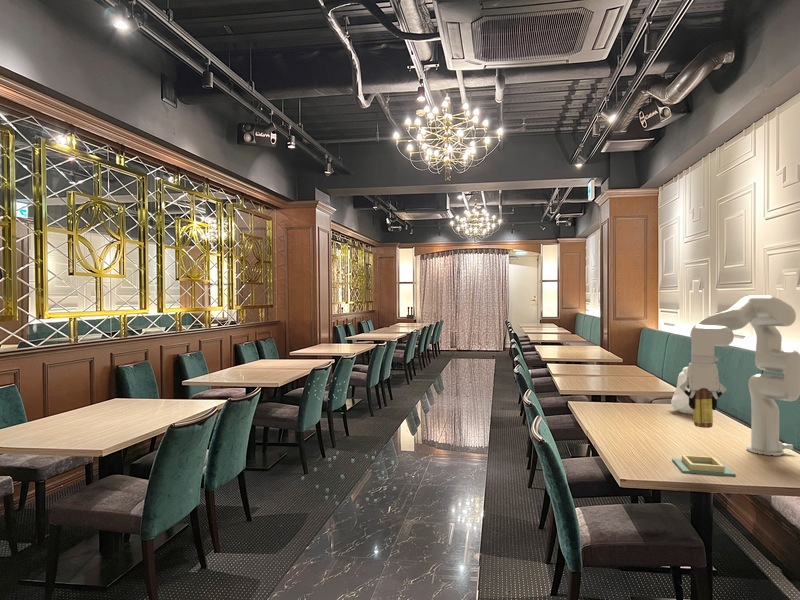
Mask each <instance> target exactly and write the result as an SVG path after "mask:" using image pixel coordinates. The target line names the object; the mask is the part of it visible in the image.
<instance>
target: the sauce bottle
mask: <svg viewBox="0 0 800 600" xmlns="http://www.w3.org/2000/svg"><path fill="white" fill-rule="evenodd" d="M694 399H695V409H693V414H692V415H693V425H694V426H695V427H697V428H698V427H699V428H704V429H705V428H706V429H708V428H712V427H713V425H714V424H713V422H714V419H713V418H714V417H713V416H714V415H713V409H712V395H711V391H709V390H708V389H707V388H701V389H699V390H698V391H696V392H695V394H694Z"/></svg>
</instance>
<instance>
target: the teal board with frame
mask: <svg viewBox="0 0 800 600" xmlns="http://www.w3.org/2000/svg"><path fill="white" fill-rule="evenodd" d="M671 459H672V462H673V463H674V465H676V467H677V468H678V469H679V470H680V471H681V473H682V474H694V473H696V475H713V476H722V475H724V477H736V475H737V474H736V473H735V472H734V471H733V470H732V469H730V468H729V467H728V466H727V465H726V464H725V463H723V462H722V461H719V460H718V459H717V458H716V457H714V456H705V455H704V456H703V455H688V454H687V455H686V454H682V455H681V458H671Z"/></svg>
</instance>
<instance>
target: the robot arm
mask: <svg viewBox="0 0 800 600" xmlns="http://www.w3.org/2000/svg"><path fill="white" fill-rule="evenodd" d="M796 314H797V313H796V311H795V308H793V307H792V305H790V304H789V303H787V302H785V301H784V300H782V299H780V298H778V297H776V296H772V295H748V296H747V295H746V296H744V297H742V298H740V299H739V300H738V301H736V302H735V303H734V304H733V305H732V306H730V307H729V308H728V309H727V310H725V311H720V312H718V313H714V314H711V315H709V316H706V317H704V318H703V319H701V320H699V321H698V322H697V323H696V324H695V325H694V326H693V327H692V329H691V331H690V339H691V342H690V343H691V356H690V357H691V359H690V360H691V361H690V362H689V363H688V366H687V367H688V370H687V379H686V381H685V382H684V383H683V384H682V385H681V386H680V387H679V388H680V389H681V390H682V391H683V392H684V393H685V394H686V395H687V396H688V397H689V406H690V408H692V409H695V399H694V394H695V392H696V391H698V390H699V389H701V388H707V389H708V390H709V391H711V395H712V411H716V408H717V407H718V405H717V404H718V399H719V398H720V397H722V395H723V394H724V393H725V392H727V390H728V389H727V388H726V387H725V386H724V385H723V384H722V383H721V382H720V377H719V369H718V366H717V364H716V362H719V361H720V358H719V357H717V356H716V354H715V353H716V352H715V351H716V348H715V347H726V346H729V345H731V343H733V341H734V337H735V335H734V332H733V331H737V330H741V329H743V328H745V327H746V326H747V325H749V323H750V324H751V325H750V326H752V328H753V329H754V332H755V335H756V345H755V356H754V357H755V358H754V364H755V367H756V368H757V369H759V370H761V371H764V372H772V373H783V376H782V375H777V374H776V375H775V374H768V373H767V374H766V373H757V374H753V375H752V376H750V378H749V379H748V389H749V390H748V391H749V394H750V400H751V401H750V403H751V409H750V412H751V414H750V415H751V416H750V417H751V421H750V422H751V423H750V424H751V425H750V426H751V428H750V429H751V431H750V432H751V434H750V435H751V437H750V438H751V439H750V444H749V445H747V446H746V450H747V451H748V452H751V453H754V454H757V453H758V454H759V455H762V454H764V456H771V455H773V456H775V457H777V456H783V455H784V453H785V452H784V451H785V449H786V450H794V445H793V444H792V443H791V444H789V443H785V442H784V443H782V441H780V409H779V406H778V404H777V402H776V401H775V400H778V401H785V402H794V401H795V402H796V401H797V400H798V399H799V398H800V353H799V352H798V351H797V350H794V349H788V348H782V342H783V341H782V339H783V338H782V334H781V332H780V331H779V329H778V328H777V327H791V326H792V325H793V324H794V323H795V321H796V317H797V315H796ZM685 387H687V388H688V389H690V391H689V392H688V391H687V390H686V389H685ZM758 454H757V455H758Z"/></svg>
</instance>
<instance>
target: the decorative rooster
mask: <svg viewBox="0 0 800 600" xmlns="http://www.w3.org/2000/svg"><path fill="white" fill-rule="evenodd" d="M687 370H688V366H685V367H683V368H682V371H681V372H679V374H678V375H677V382H676V383H677V384H676V388H675V391H674V392H673V393H674V394H673V396H672V398H671V400H670V402H671V407H672V408H673V409H674V410H676V411H678V412H680V413H683V414H687V415H693V409H692V408H690V406H689V397H688V396H687V395H686V394H685V393H684V392H683V391H682V390H681V389H680V388H679V387H680V386H681V385H682V384H683V383H684V382H685V381H686V379H687ZM685 389H686V390H687V391H688V392H689V391H690V389H688V388H687V387H685Z"/></svg>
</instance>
